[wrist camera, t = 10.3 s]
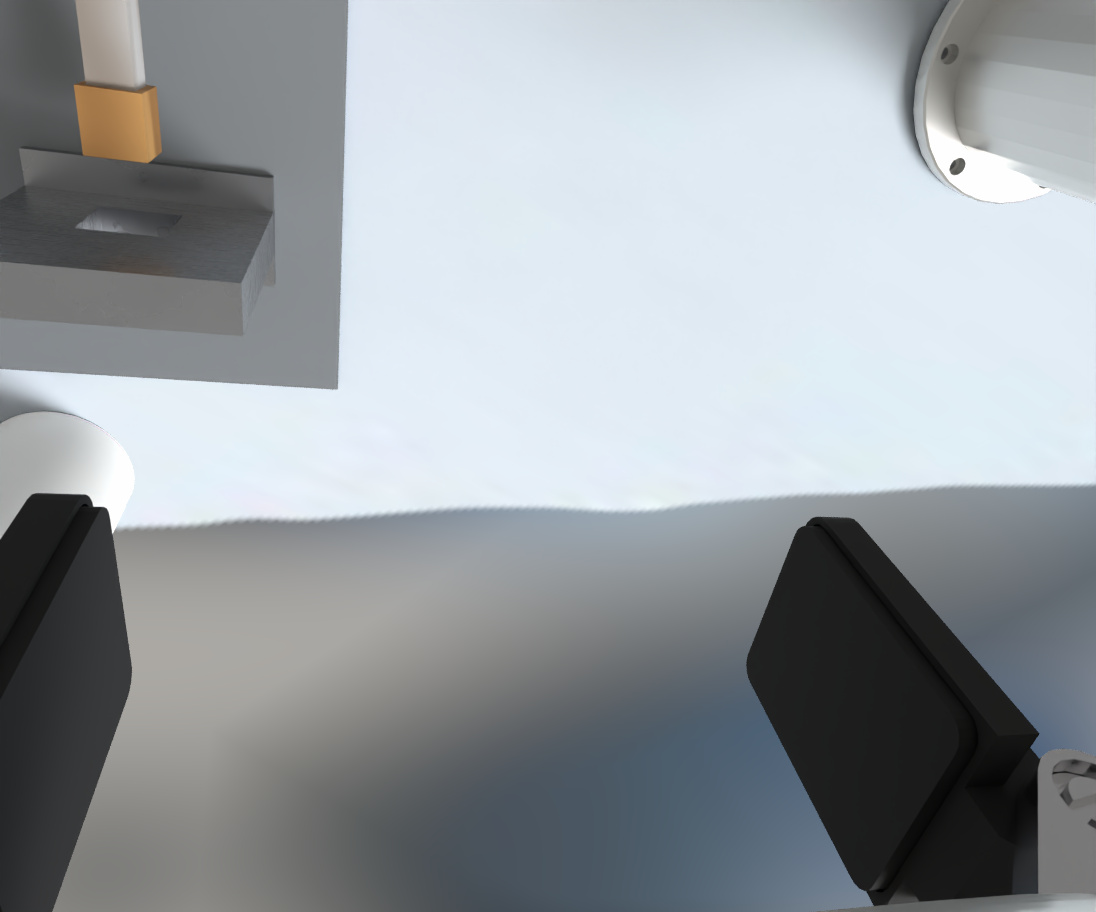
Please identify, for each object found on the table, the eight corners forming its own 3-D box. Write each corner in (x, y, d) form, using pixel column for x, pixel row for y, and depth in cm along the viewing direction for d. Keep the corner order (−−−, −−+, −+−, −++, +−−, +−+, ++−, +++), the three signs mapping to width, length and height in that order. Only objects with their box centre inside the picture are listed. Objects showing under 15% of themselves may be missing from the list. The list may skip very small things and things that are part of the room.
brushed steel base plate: (274, 176, 35) (239, 240, 27) (275, 283, 38) (244, 373, 29) (23, 145, 33) (-101, 206, 24) (42, 262, 35) (-64, 353, 27)
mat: (361, -495, 26) (360, -501, 25) (337, 386, 41) (337, 389, 41) (-228, -681, 22) (-238, -691, 22) (-6, 364, 38) (-9, 368, 37)
